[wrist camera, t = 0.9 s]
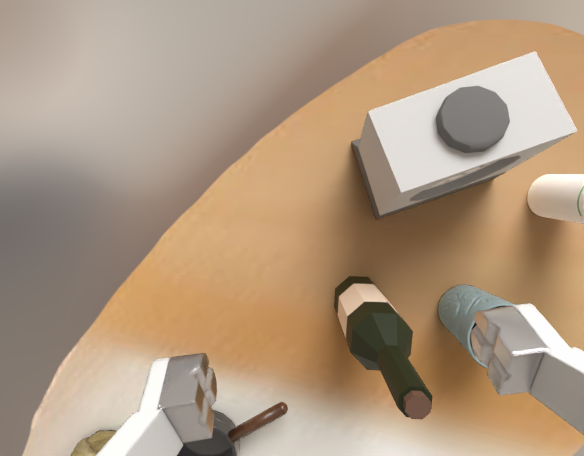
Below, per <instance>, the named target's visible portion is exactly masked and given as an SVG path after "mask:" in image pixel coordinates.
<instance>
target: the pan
mask: <svg viewBox="0 0 584 456" xmlns="http://www.w3.org/2000/svg"><path fill="white" fill-rule="evenodd" d="M212 411H213V413H214V424H213V434H212V438H209V439H203V440H197V441H192V442H186V443H183V447H182V448H181V450H180V451H179V453H178V455H177V456H238V455H239V448H240V439H239V440H238V441H236V442H234V443H233V442H232V441H231V440H230V437H229V431H230V430H231V429H233V428H235V425H234V424H233V422H232V421H231V420H230V419H229V418H228V417H226V416H225V415H224V414H222V413H220V412H217V411H215V410H212ZM227 440H228V441H227Z"/></svg>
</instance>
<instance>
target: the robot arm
mask: <svg viewBox="0 0 584 456" xmlns="http://www.w3.org/2000/svg"><path fill="white" fill-rule="evenodd" d="M474 321H475V323H476V324H477V325H476V326H475V327H474V328H473V329H472V331H471V343H472V348H473V350H474V353H475V355H476V357H477V358H478V360H479V361H480V362H481V363H483V364H484V365H486V366H487V367H488V371H487V376H488V377H489V379H490V381H491V383H492V384H493V386H494V388H495V389H496V391H497V393H498V394H499V395H507V394H515V393H523V392H529V394H531V395H532V396H533V397H535V398H536V399H537V400H538V401H540V402H541V403H542V404H544V405H545V406H546V407H548V408H549V409H550V410H552V411H553V412H554V413H556V414H557V415H558V416H559V417H561V418H562V419H563V420H565V421H566V422H567V423H569V424H570V425H571V426H573V427H574V428H575V429H577V430H578V431H579V432H580V433H582V434H583V435H584V351H582V350H580V349H578V348H576V347H573V348H570V347H569V346H568V345H567V343H566V342H565V341H564V340H563V339H562V338H561V336H560V335H559V334H558V333H557V332H556V331H555V329H554V328H553V327H552V326H551V325H550V324H549V322H548V321H547V320H546V319H545V318H544V317H543V316H542V314H541V313H540V312H539V311H538V310H537V309H536V307H535V306H534V305H532V304H530V303H527V304H520V305H514V306H505V307H499V308H493V309H487V310H481V311H477V312H476V313H475V317H474ZM208 363H209V359H208V357H207V355H206V353H201V354H193V355H185V356H177V357H169V358H162V359H155V360H154V361H153V363H152V364H151V367H150V370H149V374H148V378H147V381H146V385H145V388H144V392H143V395H142V399H141V402H140V406H139V409H138V412H137V413H132V415H131V416H130V417H129V418H128V419H127V420H126V421H125V423H124V424H123V425H122V426H121V427H120V428H119V429H118V431H117V432H116V433H115V434H114V435H113V436H112V437H111V439H110V440H109V441H108V442H107V443H106V444H105V445H104V447H103V448H102V449H101V450H100V451H99V452H98V453H97V454H96V456H177V455H178V453H179V451H180V450H181V448H182V447H183V443H186V442H192V441H197V440H203V439H209V438H212V434H213V424H214V413H213V411H212V409H211V407H212V405H213V404H214V403H215V401H216V394H217V385H216V377H215V373H214V371H213V369H212V368H210V367H208Z"/></svg>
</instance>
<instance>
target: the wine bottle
mask: <svg viewBox="0 0 584 456" xmlns="http://www.w3.org/2000/svg"><path fill="white" fill-rule="evenodd" d="M334 307H335V309H336V312H337V315H338V318H339V321H340V324H341V326H342V329H343V332H344V335H345V338H346V340H347V343H348V346H349V349H350V352H351V353H352V354H353V356H354V357H355V358H356V359H357V360H358V361H359V362H360V363H361V364H362V365H363V366H364V367H365V368H366V369H367V370H380V371H381V373H382V375H383V377H384V379H385V381H386V383H387V386H388V388H389V390H390V392H391V394H392V396H393V398H394V400H395V403H396V405H397V407H398V408H399V409H400V411H401V412H402V413H403V414H404V415H405V416H406V417H411V418H412V419H423V418H424V417H426V416H427V415H428V414H429V413H430V410H431V404H432V395H431V393H430V392H429V390H428V389H427V387H426V386H425V384H424V383H423V381H422V380H421V378H420V376H419V375H418V373H417V372H416V370H415V369H414V367H413V366H412V364H411V363H410V361H409V360H408V357H409V356H410V354H411V344H412V334H413V331H412V330H411V329H410V327H409V326H408V325H407V323H406V322H405V321H404V320H403V318H402V317H401V316H400V315H399V313H398V312H397V311H396V310H395V308H394V307H393V306H392V305H391V303H390V302H389V301H388V299H387V298H386V297H385V296H384V294H383V293H382V292H381V291H380V289H379V288H378V287H377V286H376V285H375V284H374V283H373V282H372V281H371V280H370V279H369V277H356V276H349V277H348V278H347V279H346V280H345V281H344V282H342V283H341V284H340V285H339V286H338V287H337V288H336V289H335V305H334Z"/></svg>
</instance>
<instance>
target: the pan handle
mask: <svg viewBox="0 0 584 456" xmlns="http://www.w3.org/2000/svg"><path fill="white" fill-rule="evenodd" d="M287 411H288V407H287V405H286V403H284V402H280V403H278V404H276V405H274V406H273V407H271V408H269V409H267V410H266V411H264V412H262V413H260V414H258V415H257V416H255V417H253V418H251V419H249V420H248V421H246V422H244V423H242V424H240V425H239V426H237V427H235V428H233V429H231V430H230V431H229V437H230V440H231V441H232V442H233V443H234V442H236V441H238V440H239V439H241V438H243V437H245V436H247V435H248V434H250V433H252V432H254V431H256V430H257V429H259V428H261V427H263V426H265V425H266V424H268V423H270V422H272V421H274V420H275V419H277V418H279V417H281V416H283V415H285V414H286V413H287ZM227 441H228V440H227Z"/></svg>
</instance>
